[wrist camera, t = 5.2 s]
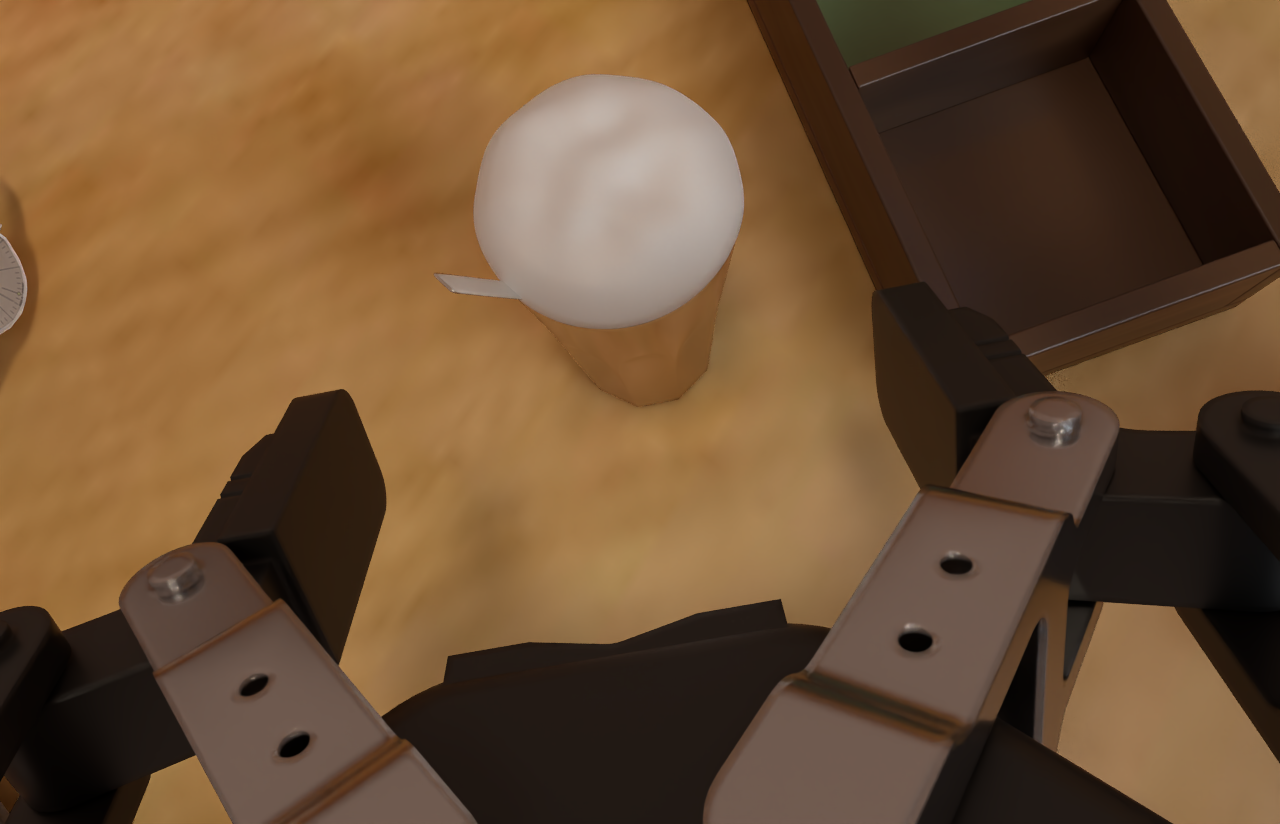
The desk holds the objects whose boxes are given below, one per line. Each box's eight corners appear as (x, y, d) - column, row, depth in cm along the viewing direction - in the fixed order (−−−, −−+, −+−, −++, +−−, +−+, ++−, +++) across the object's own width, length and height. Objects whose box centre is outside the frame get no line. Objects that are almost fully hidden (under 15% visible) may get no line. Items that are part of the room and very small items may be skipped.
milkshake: (498, 372, 24) (340, 187, 14) (645, 226, 24) (590, -48, 15) (625, 495, 23) (549, 385, 13) (776, 339, 23) (810, 124, 14)
